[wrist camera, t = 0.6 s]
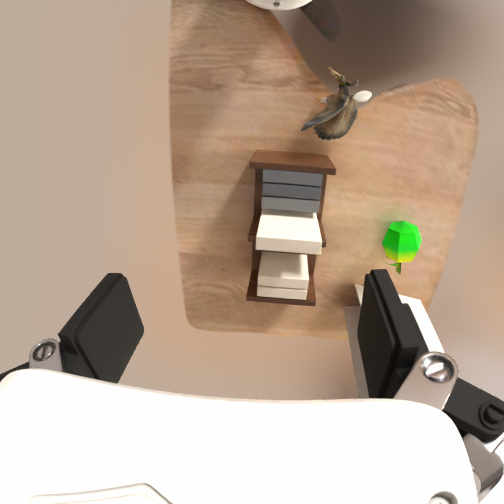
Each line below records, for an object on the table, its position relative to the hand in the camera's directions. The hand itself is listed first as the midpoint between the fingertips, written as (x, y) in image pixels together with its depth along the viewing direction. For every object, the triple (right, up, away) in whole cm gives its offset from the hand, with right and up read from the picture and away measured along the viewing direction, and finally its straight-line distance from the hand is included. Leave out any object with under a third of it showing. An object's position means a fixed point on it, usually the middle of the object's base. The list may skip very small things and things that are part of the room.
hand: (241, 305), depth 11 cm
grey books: (+6, +12, +30) cm, 33 cm away
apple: (+24, +4, +34) cm, 42 cm away
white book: (+6, +9, +33) cm, 34 cm away
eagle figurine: (+11, +22, +26) cm, 36 cm away
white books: (+5, 0, +37) cm, 38 cm away
